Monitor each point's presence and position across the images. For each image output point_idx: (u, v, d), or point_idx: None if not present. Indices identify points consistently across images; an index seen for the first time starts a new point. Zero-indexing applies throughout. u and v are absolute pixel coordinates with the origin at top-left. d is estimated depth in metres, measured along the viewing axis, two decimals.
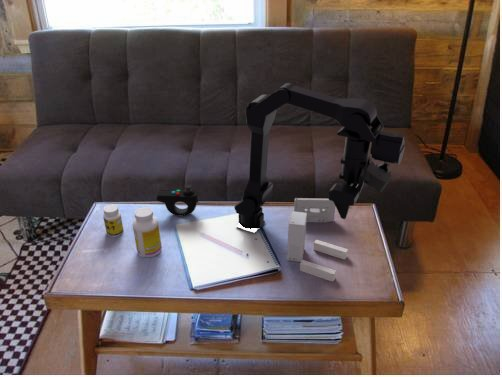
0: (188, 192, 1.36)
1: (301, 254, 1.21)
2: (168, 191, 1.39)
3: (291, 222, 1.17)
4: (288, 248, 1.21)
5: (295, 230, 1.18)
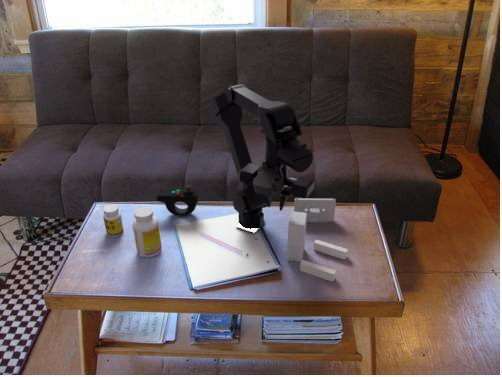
0: (188, 192, 1.36)
1: (301, 254, 1.21)
2: (168, 191, 1.38)
3: (291, 223, 1.17)
4: (288, 248, 1.21)
5: (295, 230, 1.18)
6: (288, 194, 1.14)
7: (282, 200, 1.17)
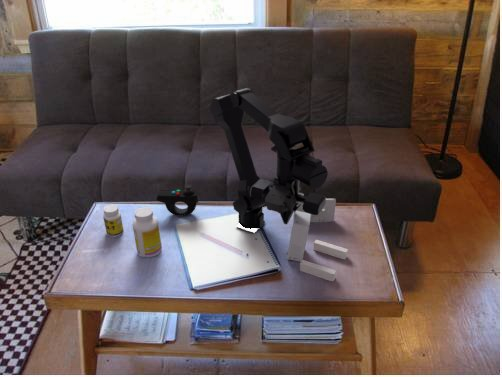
0: (188, 192, 1.36)
1: (302, 254, 1.21)
2: (168, 191, 1.38)
3: (295, 222, 1.17)
4: (290, 247, 1.21)
5: (299, 230, 1.17)
6: (294, 209, 1.15)
7: (288, 214, 1.19)
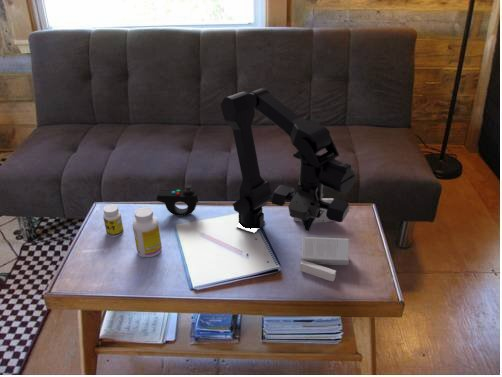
0: (188, 192, 1.36)
1: None
2: (168, 191, 1.38)
3: (348, 259, 1.18)
4: (317, 259, 1.18)
5: (341, 262, 1.19)
6: (317, 216, 1.13)
7: (310, 221, 1.16)
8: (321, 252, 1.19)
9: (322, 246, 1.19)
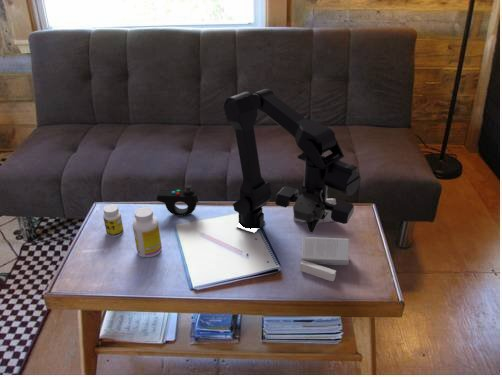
0: (188, 192, 1.36)
1: None
2: (168, 191, 1.39)
3: (348, 259, 1.18)
4: (317, 259, 1.18)
5: (341, 262, 1.19)
6: (321, 217, 1.12)
7: (314, 223, 1.16)
8: (321, 252, 1.19)
9: (322, 246, 1.19)
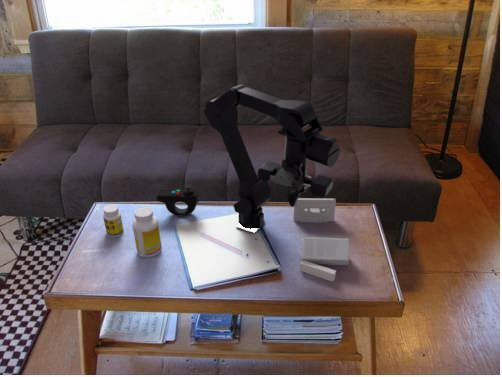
0: (188, 192, 1.36)
1: None
2: (168, 191, 1.38)
3: (348, 259, 1.18)
4: (317, 259, 1.18)
5: (341, 262, 1.19)
6: (301, 191, 1.16)
7: (295, 197, 1.19)
8: (321, 252, 1.19)
9: (322, 246, 1.19)
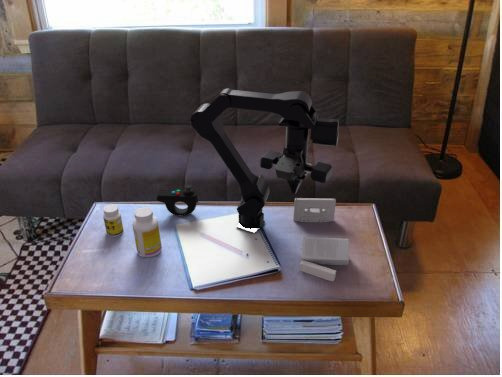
0: (188, 192, 1.36)
1: None
2: (168, 191, 1.39)
3: (348, 259, 1.18)
4: (317, 259, 1.18)
5: (341, 262, 1.19)
6: (302, 178, 1.21)
7: (296, 184, 1.24)
8: (321, 252, 1.19)
9: (322, 246, 1.19)
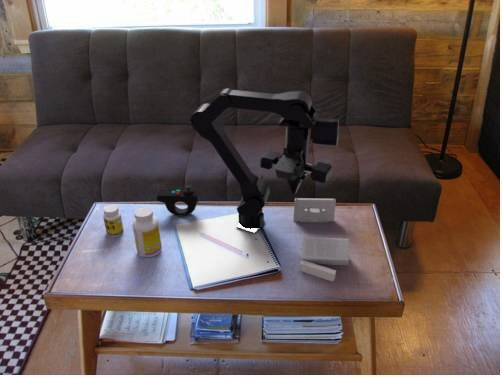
0: (188, 192, 1.36)
1: None
2: (168, 191, 1.39)
3: (348, 259, 1.18)
4: (317, 259, 1.18)
5: (341, 262, 1.19)
6: (302, 177, 1.21)
7: (296, 184, 1.24)
8: (321, 252, 1.19)
9: (322, 246, 1.19)
